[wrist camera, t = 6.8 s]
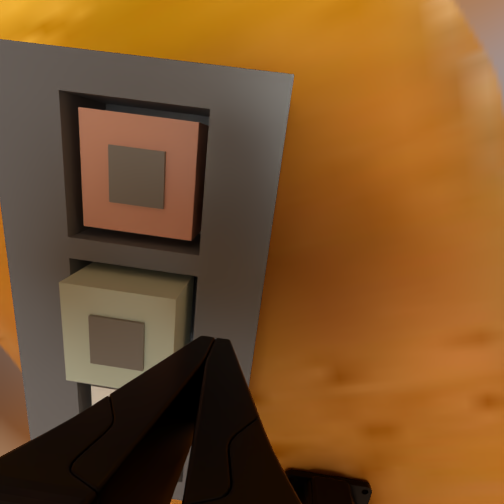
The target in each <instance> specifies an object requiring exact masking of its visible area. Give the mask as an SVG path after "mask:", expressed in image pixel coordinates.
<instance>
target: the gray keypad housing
mask: <svg viewBox="0 0 504 504" xmlns="http://www.w3.org/2000/svg"><path fill="white" fill-rule="evenodd" d="M293 79H294V74H287V73H278V72H270V71H262V70H253V69H245V68H236V67H228V66H220V65H211V64H203V63H195V62H186V61H178V60H170V59H161V58H153V57H145V56H136V55H128V54H120V53H111V52H103V51H95V50H86V49H78V48H70V47H61V46H53V45H45V44H36V43H28V42H19V41H11V40H3V39H0V203H1V211H2V219H3V227H4V235H5V242H6V250H7V258H8V266H9V274H10V282H11V289H12V297H13V305H14V313H15V321H16V329H17V336H18V344H19V352H20V360H21V368H22V376H23V383H24V391H25V399H26V407H27V414H28V423H29V430H30V438H31V440H33V439H34V438H36V437H38V436H40V435H42V434H44V433H46V432H47V431H49V430H51V429H53V428H55V427H56V426H58V425H60V424H62V423H63V422H65V421H67V420H69V419H71V418H72V417H74V416H76V415H77V414H79V413H81V412H82V411H84V410H85V409H87V408H89V407H90V406H92V396H91V385H94V384H87V383H81V382H75V381H68V380H66V371H65V358H64V344H63V331H62V318H61V305H60V292H59V282H60V281H62V280H64V279H65V278H67V277H69V276H70V275H72V274H74V273H76V272H77V271H79V270H81V269H82V268H84V267H86V266H87V265H89V264H91V263H92V262H100V263H107V264H114V265H121V266H128V267H135V268H142V269H149V270H156V271H163V272H169V273H176V274H183V275H190V276H194V286H193V300H192V315H191V329H190V342H192V341H193V340H195V339H196V338H198V337H199V336H209V337H214V338H215V339H216V338H224V339H229V340H230V341H231V343H232V346H233V348H234V351H235V353H236V356H237V359H238V361H239V364H240V367H241V369H242V372H243V375H244V377H245V380H246V383H247V385H248V388H249V381H250V374H251V367H252V360H253V353H254V347H255V340H256V333H257V326H258V319H259V312H260V305H261V299H262V292H263V285H264V278H265V271H266V264H267V257H268V251H269V244H270V237H271V230H272V223H273V216H274V209H275V203H276V196H277V189H278V182H279V175H280V168H281V161H282V155H283V148H284V141H285V134H286V127H287V120H288V113H289V107H290V100H291V93H292V86H293ZM78 107H83V108H90V109H98V110H106V111H114V112H122V113H130V114H138V115H146V116H154V117H162V118H170V119H177V120H185V121H193V122H200V123H202V124H205V125H207V126H209V130H208V144H207V157H206V171H205V184H204V198H203V211H202V225H201V231H200V233H199V234H198V235H197V236H196V237H195V238H194V239H193V240H192V241H188V240H181V239H174V238H167V237H159V236H152V235H145V234H138V233H131V232H124V231H117V230H109V229H102V228H95V227H88V226H84V222H83V200H82V179H81V157H80V135H79V113H78ZM97 386H100V385H97ZM104 387H107V386H104ZM110 388H113V387H110ZM116 389H119V388H116ZM190 451H191V448H190ZM190 451H189V453H188V456H187V459H186V461H185V464H184V467H183V470H182V472H181V475H180V478H179V480H178V483H177V486H176V488H175V491H174V494H173V497H172V499H177V500H183V494H184V488H185V482H186V476H187V469H188V463H189V457H190Z"/></svg>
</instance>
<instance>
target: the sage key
mask: <svg viewBox="0 0 504 504" xmlns="http://www.w3.org/2000/svg"><path fill="white" fill-rule="evenodd" d="M193 286H194V276H190V275H183V274H176V273H169V272H163V271H156V270H149V269H142V268H135V267H128V266H121V265H114V264H107V263H100V262H92V263H91V264H89V265H87V266H86V267H84V268H82V269H81V270H79V271H77V272H76V273H74V274H72V275H70V276H69V277H67V278H65V279H64V280H62V281H60V282H59V292H60V305H61V318H62V331H63V344H64V358H65V371H66V380H68V381H75V382H81V383H87V384H94V385H100V386H107V387H113V388H120V387H122V386H123V385H125V384H126V383H128V382H130V381H131V380H133V379H134V378H136V377H137V376H139V375H140V374H142V373H144V372H145V371H147V370H148V369H150V368H151V367H153V366H154V365H156V364H158V363H159V362H161V361H162V360H164V359H165V358H167V357H168V356H170V355H172V354H173V353H175V352H176V351H178V350H179V349H181V348H182V347H184V346H185V345H187V344H189V343H190V329H191V315H192V300H193Z"/></svg>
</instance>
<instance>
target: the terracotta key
mask: <svg viewBox="0 0 504 504" xmlns="http://www.w3.org/2000/svg"><path fill="white" fill-rule="evenodd" d="M78 113H79V135H80V157H81V179H82V200H83V222H84V226H88V227H95V228H102V229H109V230H117V231H124V232H131V233H138V234H145V235H152V236H159V237H167V238H174V239H181V240H188V241H192V240H193V239H194V238H195V237H196V236H197V235H198V234H199V233H200V231H201V225H202V211H203V198H204V184H205V171H206V157H207V144H208V130H209V126H207V125H205V124H202V123H200V122H193V121H185V120H177V119H170V118H162V117H154V116H146V115H138V114H130V113H122V112H114V111H106V110H98V109H90V108H83V107H78Z"/></svg>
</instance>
